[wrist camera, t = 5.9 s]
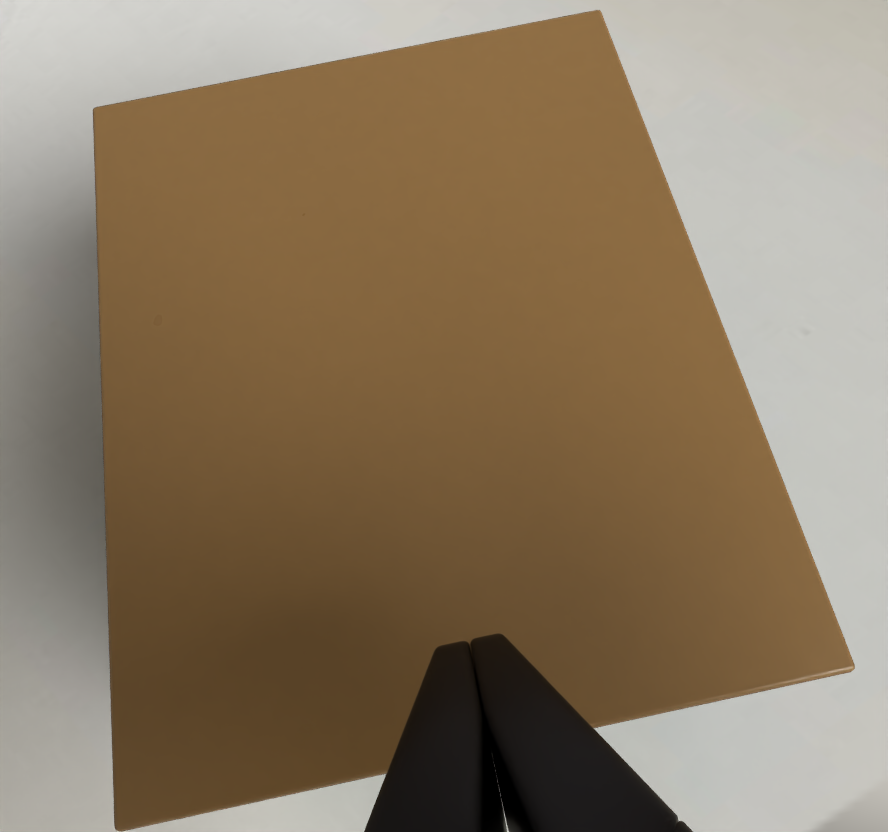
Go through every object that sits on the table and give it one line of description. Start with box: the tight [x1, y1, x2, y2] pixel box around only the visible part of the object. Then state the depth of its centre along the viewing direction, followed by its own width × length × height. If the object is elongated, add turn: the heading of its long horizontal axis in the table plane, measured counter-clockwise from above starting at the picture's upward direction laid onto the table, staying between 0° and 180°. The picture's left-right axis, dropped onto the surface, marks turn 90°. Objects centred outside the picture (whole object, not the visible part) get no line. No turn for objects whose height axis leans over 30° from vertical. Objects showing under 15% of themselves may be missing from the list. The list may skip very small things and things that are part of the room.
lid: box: [93, 10, 855, 831], centre depth 14 cm, size 14×12×1 cm
